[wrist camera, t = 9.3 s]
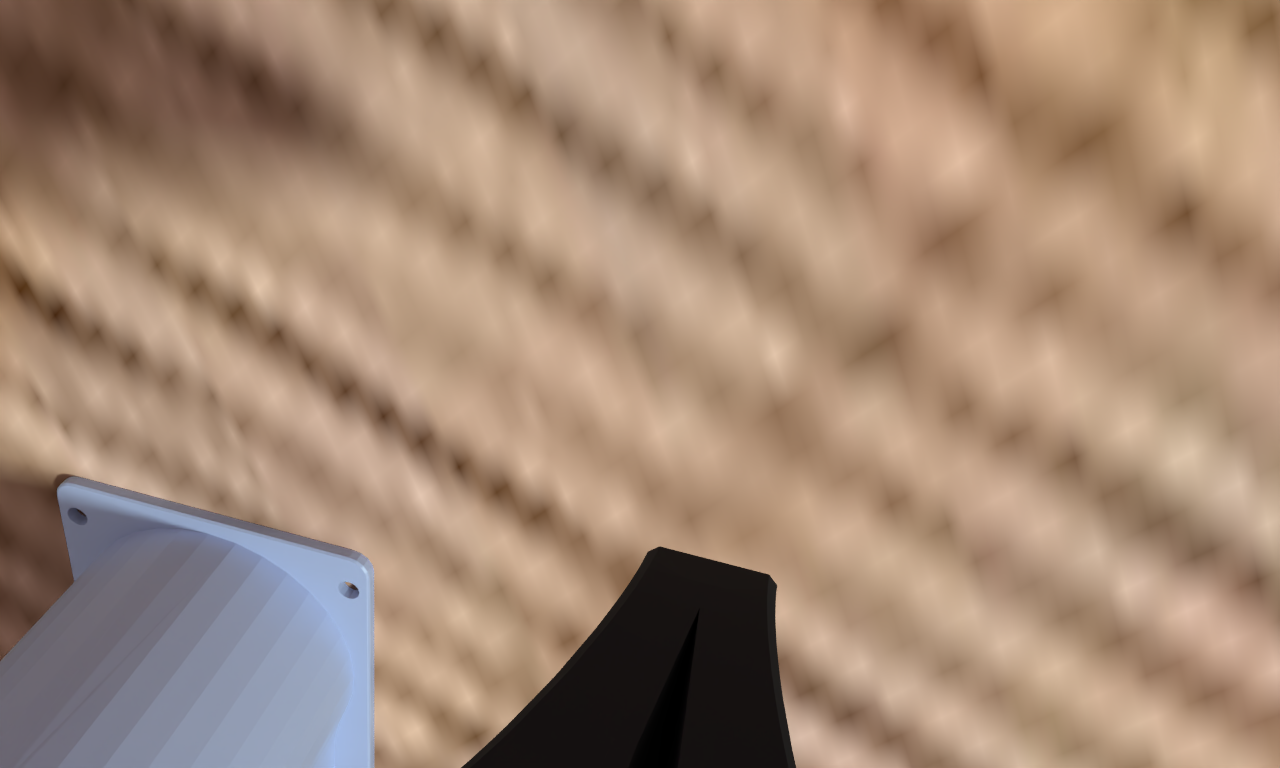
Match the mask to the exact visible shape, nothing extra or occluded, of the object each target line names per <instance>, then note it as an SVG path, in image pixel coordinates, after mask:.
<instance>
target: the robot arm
mask: <svg viewBox="0 0 1280 768" xmlns="http://www.w3.org/2000/svg"><path fill="white" fill-rule="evenodd" d="M57 497H58V502H59V508H60V513H61V518H62V523H63V528H64V533H65V538H66V543H67V548H68V553H69V558H70V563H71V568H72V573H73V578H74V583H73V584H72V585H71V586H70V587H69V588H68V589H67V590H66V591H65V592H64V593H63V595H62V596H61V597H60V598H59V599H58V600H57V601H56V602H55V603H54V604H53V605H52V606H51V607H50V608H49V609H48V611H47V612H46V613H45V614H44V615H43V616H42V617H41V618H40V619H39V620H38V621H37V622H36V623H35V624H34V626H33V627H32V628H31V629H30V630H29V631H28V632H27V633H26V634H25V635H24V636H23V637H22V638H21V639H20V641H19V642H18V643H17V644H16V645H15V646H14V647H13V648H12V649H11V650H10V651H9V652H8V653H7V654H6V656H5V657H4V658H3V659H2V660H1V661H0V768H374V569H373V565H372V564H371V562H370V561H369V559H368V558H367V557H365V556H364V555H363V554H361V553H359V552H357V551H354V550H351V549H347V548H343V547H340V546H336V545H332V544H328V543H325V542H321V541H317V540H313V539H310V538H306V537H302V536H298V535H295V534H291V533H287V532H283V531H280V530H276V529H272V528H269V527H265V526H261V525H257V524H254V523H250V522H246V521H242V520H239V519H235V518H231V517H227V516H224V515H220V514H216V513H212V512H209V511H205V510H201V509H197V508H194V507H190V506H186V505H182V504H179V503H175V502H171V501H167V500H164V499H160V498H156V497H152V496H149V495H145V494H141V493H137V492H134V491H130V490H126V489H123V488H119V487H115V486H111V485H108V484H104V483H100V482H96V481H93V480H89V479H85V478H81V477H74V476H72V477H69V478H67V479H66V480H65V481H63V482H62V483H61V484H60V486H59V487H58V488H57ZM76 508H77V509H79V510H81V511H82V512H83V513H84V514H85V515H86V516H84V515H82V514H80V513H79V512H78V511H77V509H76ZM345 582H350V583H352V584H354V585H355V586H356V587H357V588H358V590H354V589H352V588H350V587H348V586H347V585H346V584H345ZM776 590H777V585H776V583H775V582H774V581H773V579H772V578H771V577H770V575H768V574H764V573H760V572H757V571H753V570H749V569H745V568H741V567H737V566H733V565H729V564H726V563H722V562H718V561H714V560H710V559H706V558H702V557H698V556H695V555H691V554H687V553H683V552H679V551H675V550H671V549H667V548H664V547H657V548H655V549H653V550H651V551H649V552H648V553H647V555H646V556H645V558H644V560H643V562H642V564H641V566H640V567H639V569H638V571H637V572H636V574H635V575H634V577H633V578H632V580H631V582H630V583H629V585H628V586H627V588H626V589H625V590H624V592H623V593H622V595H621V596H620V597H619V599H618V600H617V602H616V603H615V604H614V606H613V607H612V608H611V610H610V611H609V612H608V613H607V615H606V616H605V617H604V619H603V620H602V621H601V623H600V624H599V625H598V626H597V628H596V629H595V630H594V631H593V633H592V634H591V635H590V636H589V637H588V638H587V640H586V641H585V642H584V643H583V644H582V645H581V647H580V648H579V649H578V650H577V651H576V652H575V654H574V655H573V656H572V657H571V658H570V660H569V661H568V662H567V663H566V664H565V665H564V667H563V668H562V669H561V670H560V671H559V672H558V673H557V674H556V676H555V677H554V678H553V679H552V680H551V681H550V682H549V683H548V684H547V685H546V686H545V687H544V688H543V689H542V690H541V691H540V692H539V693H538V694H537V695H536V696H535V698H534V699H533V700H532V701H531V702H530V703H529V704H528V705H527V706H526V707H525V708H524V709H523V710H522V711H521V712H520V713H519V714H518V715H517V716H516V717H515V718H514V719H513V720H512V721H511V722H510V723H509V724H508V725H507V726H506V727H505V728H504V729H503V730H502V731H501V732H500V733H499V734H498V735H497V736H496V737H495V738H493V739H492V740H491V741H490V742H489V743H488V744H487V745H486V746H485V747H484V748H483V749H482V750H481V751H479V752H478V753H477V754H476V755H475V756H474V757H473V758H472V759H471V760H470V761H468V762H467V763H466V764H465V765H464V766H463V767H461V768H796V765H795V761H794V756H793V752H792V746H791V741H790V735H789V730H788V724H787V719H786V713H785V708H784V702H783V696H782V689H781V682H780V674H779V665H778V655H777V644H776V627H775V601H776Z"/></svg>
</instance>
